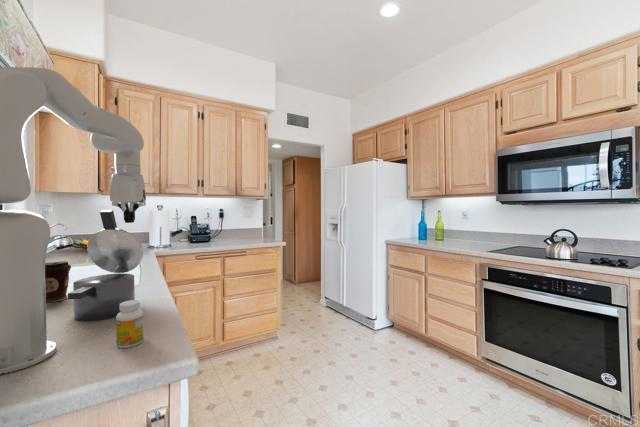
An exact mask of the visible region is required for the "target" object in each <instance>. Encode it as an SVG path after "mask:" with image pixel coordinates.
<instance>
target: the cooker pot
mask: <svg viewBox="0 0 640 427" xmlns="http://www.w3.org/2000/svg"><path fill="white" fill-rule="evenodd" d="M72 287H73V288H72V289H73V290H72V291H70V292H67V300H73V316H74V320H76V321H79V322H95V321H103V320H109V319H113V318H116V316H117V314H118V313H120V312H121V311H120V309H119V305H120V303H122V302H125V301H130V300H136V296H135V295H136V293H135V292H136V291H135V275H134V274H131V273H108V274H99V275H94V276H88V277H85V278H84V277H83V278H81V279H78V280H75V281H73V286H72Z"/></svg>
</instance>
